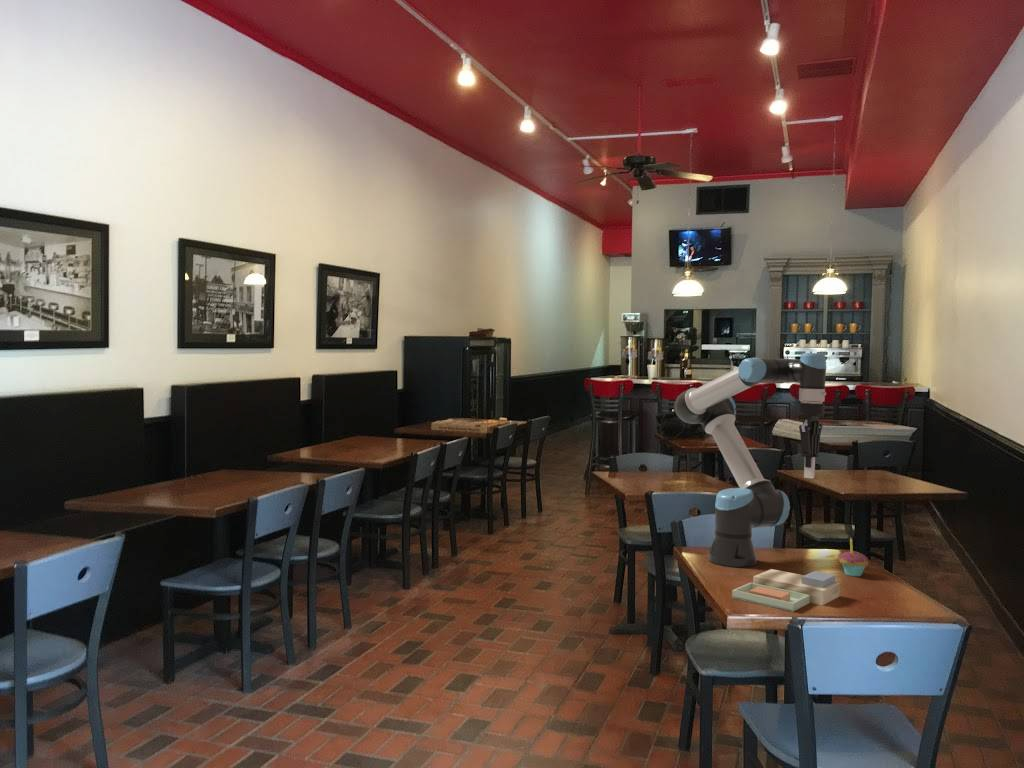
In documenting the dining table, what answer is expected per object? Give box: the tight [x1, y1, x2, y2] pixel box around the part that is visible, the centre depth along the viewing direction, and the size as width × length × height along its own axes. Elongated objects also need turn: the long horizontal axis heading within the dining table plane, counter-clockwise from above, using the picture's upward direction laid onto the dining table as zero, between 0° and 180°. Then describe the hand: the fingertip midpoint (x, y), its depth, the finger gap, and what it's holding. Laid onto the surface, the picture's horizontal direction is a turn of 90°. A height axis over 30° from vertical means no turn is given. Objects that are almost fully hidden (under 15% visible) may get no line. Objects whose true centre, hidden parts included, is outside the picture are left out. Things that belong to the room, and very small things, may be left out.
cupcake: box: [838, 538, 869, 577], centre depth 256 cm, size 9×8×12 cm
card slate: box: [802, 570, 837, 588], centre depth 230 cm, size 9×6×2 cm, turn 138°
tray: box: [731, 582, 811, 613], centre depth 226 cm, size 17×11×2 cm, turn 48°
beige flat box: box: [752, 568, 840, 606], centre depth 233 cm, size 20×12×4 cm, turn 48°
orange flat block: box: [749, 586, 790, 602], centre depth 225 cm, size 9×6×2 cm, turn 49°
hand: (809, 477), depth 258 cm, fingers closed
